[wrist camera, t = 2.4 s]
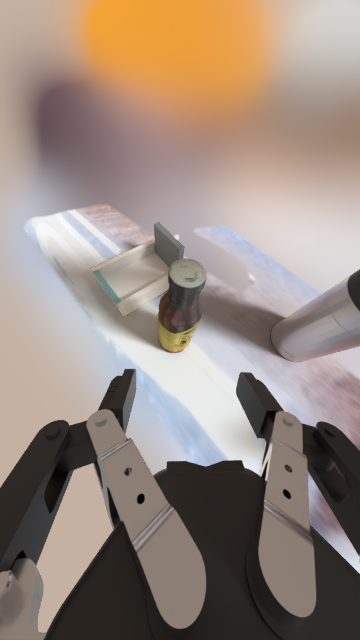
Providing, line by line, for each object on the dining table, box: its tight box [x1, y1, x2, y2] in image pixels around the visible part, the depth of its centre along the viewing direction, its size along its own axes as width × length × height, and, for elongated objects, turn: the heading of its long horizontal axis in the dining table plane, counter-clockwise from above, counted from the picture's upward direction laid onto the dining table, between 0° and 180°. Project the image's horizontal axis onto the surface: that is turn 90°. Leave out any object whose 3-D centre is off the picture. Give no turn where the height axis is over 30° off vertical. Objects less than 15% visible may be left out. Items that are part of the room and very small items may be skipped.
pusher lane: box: [91, 239, 169, 316], centre depth 39 cm, size 18×12×4 cm, turn 129°
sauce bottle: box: [158, 259, 207, 353], centre depth 26 cm, size 6×6×20 cm
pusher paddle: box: [154, 222, 184, 268], centre depth 39 cm, size 3×9×8 cm, turn 39°
